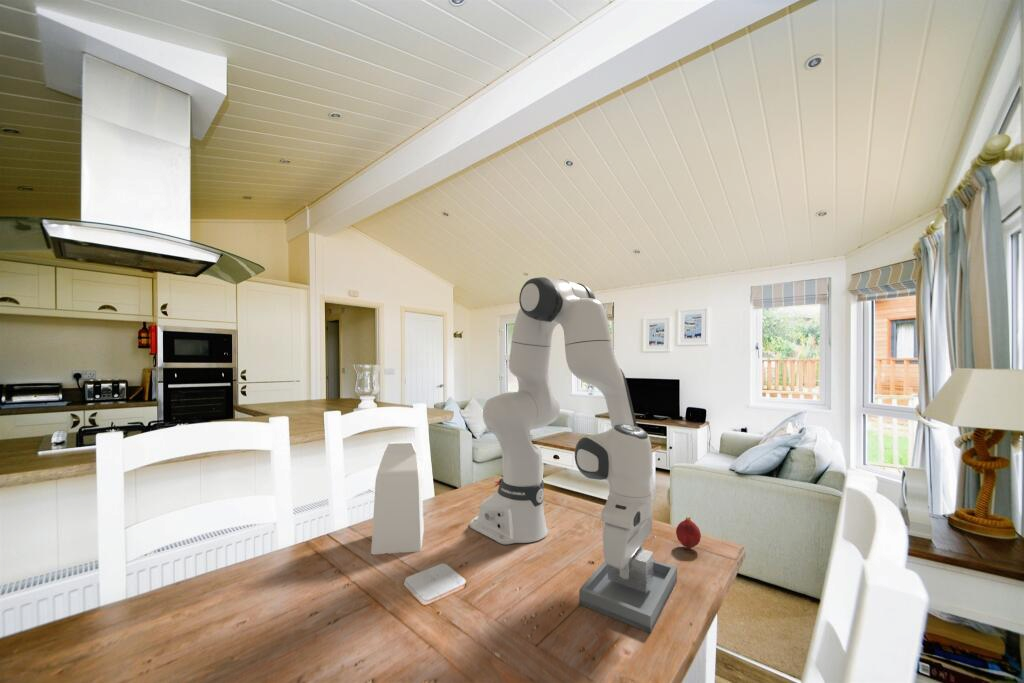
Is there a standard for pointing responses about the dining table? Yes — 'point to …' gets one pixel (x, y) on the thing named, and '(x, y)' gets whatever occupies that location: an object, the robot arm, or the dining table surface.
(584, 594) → the tray
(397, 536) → the milk
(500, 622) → the dining table surface
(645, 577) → the block
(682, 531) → the onion
